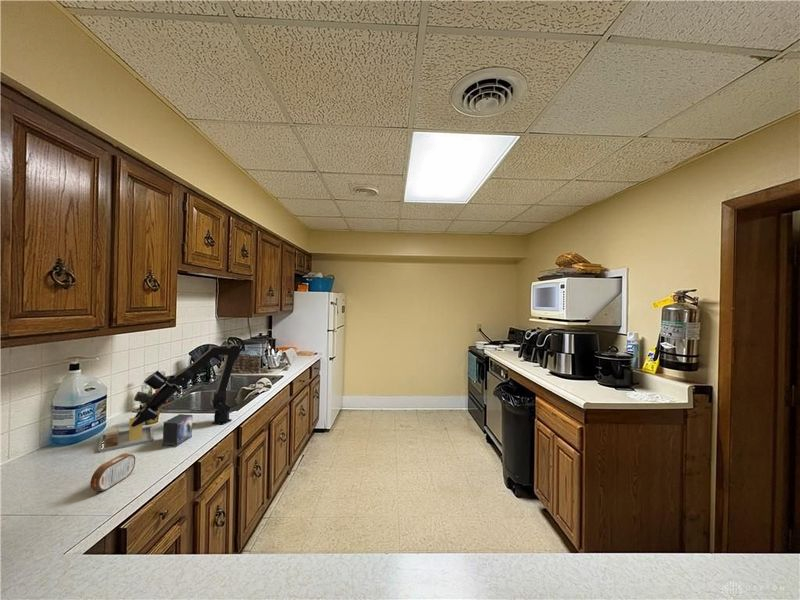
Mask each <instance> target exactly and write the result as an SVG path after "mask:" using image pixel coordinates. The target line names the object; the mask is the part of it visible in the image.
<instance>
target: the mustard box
mask: <svg viewBox="0 0 800 600" xmlns="http://www.w3.org/2000/svg"><path fill="white" fill-rule="evenodd" d="M136 419H137V417H136V418H134V417H131V418H129V421H128V423H129V424H128V425H129V426H128V430H129V441H133V440H138V439H142V428H143V423H141V424H139V425H137V426H134V427H132V426H131V425H132V424H133V422H134V421H135V420H136Z"/></svg>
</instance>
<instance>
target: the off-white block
mask: <svg viewBox="0 0 800 600" xmlns="http://www.w3.org/2000/svg"><path fill="white" fill-rule="evenodd" d="M118 432H119V428H113V429H107V430H106V432H105V434H106V436H107V435H112V434H118Z"/></svg>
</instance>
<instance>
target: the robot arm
mask: <svg viewBox="0 0 800 600" xmlns="http://www.w3.org/2000/svg"><path fill="white" fill-rule="evenodd" d="M240 353H241V348H240V347H239V345H237V344H235V343H231V344H228V345H220V346H210V348H209V349H208V350H207V351H205V352H204V353H203V354H202V355H201V356H199V357H198V358H197V359H196V360H194V361H193V362H192V363H190V365H188V366H186V367H185V368H182V369H181V370H179V371H178V372H176V373H174V374H172V375H167V376H165V375H164V374H162V373H161V372H160V371H159V370H156V371H154V372H152V374H149V375H148V376H147V377H146V378H145V379H144V381H143V383H144V384H145V385H147V386H148V387H150V388H152V389H153V391H155V390H158V391H156V392H153V393H152V394H150V393H147V392H143V391H137V392H136V394H135V396H134V397H133V400H134V402H140V403H139V410H138V412H137V413H136V415H135V416H134V417H133V418H136V417H137V419H136V420H135V421H134V422H133V424H132V425H131V426H132V427H134V426H137V425H139V424H141V423H142V424H144V423H145V422H148V421H150V420H153V421H155V420H156V419H157V418H158V411H159V409H160V408H161V407H162V406H163V405H166V404H167V401H168V400H169V399H170V398H171V397H172V396H173V395H175V393H178V394H182V387H184V386H185V385H187V384H188V383H189V382H190V380H191V379H192V378H193V376H194V375H195V374H196V373H197V372H198V371H199V370H200V369H201V368H203V366H205V365H206V364H207V363H209V361H211V360H212V359H213V358H214V357H215V356H224V363H223V367H222V370H221V373H220V378H219V379H218V380H219V381H218V384H217V388H216V389H215V391H211V395H210V397H209V401H210V404H211V406H212V407H213V409H215V411H214V415H213V417H214V418H213V420H214V421H212V422H211V424H215V425H221V426H222V425H225V424H228V423H229V422H231V421H232V419H231V418H230V409H231V406H230V405H229V404H228V402H227V389H228V385H229V381H230V377H231V375H232V371H233V367H234V364H235V362H236V361H237V359H238V357H239V356H240Z"/></svg>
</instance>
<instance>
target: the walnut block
mask: <svg viewBox="0 0 800 600" xmlns="http://www.w3.org/2000/svg"><path fill="white" fill-rule="evenodd" d="M117 445H118V434H112V435H107V436H106V439H105V448H108V447H113V446H117Z"/></svg>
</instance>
